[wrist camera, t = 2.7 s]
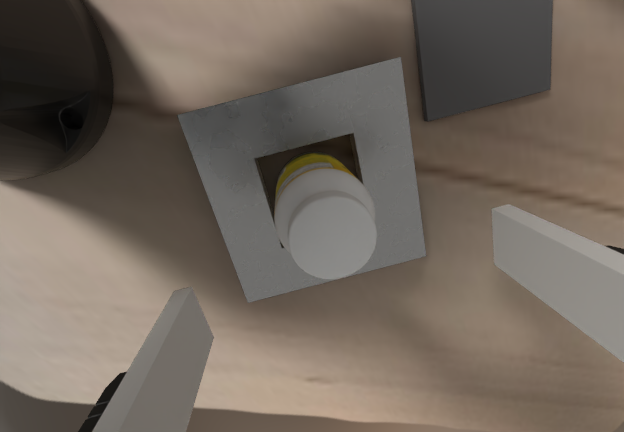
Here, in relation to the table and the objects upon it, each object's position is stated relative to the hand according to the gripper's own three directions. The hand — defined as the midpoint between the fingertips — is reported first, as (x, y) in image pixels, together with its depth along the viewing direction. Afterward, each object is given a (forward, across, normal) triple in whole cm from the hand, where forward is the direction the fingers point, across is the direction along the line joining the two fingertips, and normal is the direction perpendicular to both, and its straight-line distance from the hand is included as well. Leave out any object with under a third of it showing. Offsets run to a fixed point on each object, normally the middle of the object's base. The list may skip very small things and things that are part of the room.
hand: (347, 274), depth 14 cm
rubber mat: (+14, +15, +8) cm, 22 cm away
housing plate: (+14, 0, 0) cm, 14 cm away
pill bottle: (+14, 0, 0) cm, 14 cm away
